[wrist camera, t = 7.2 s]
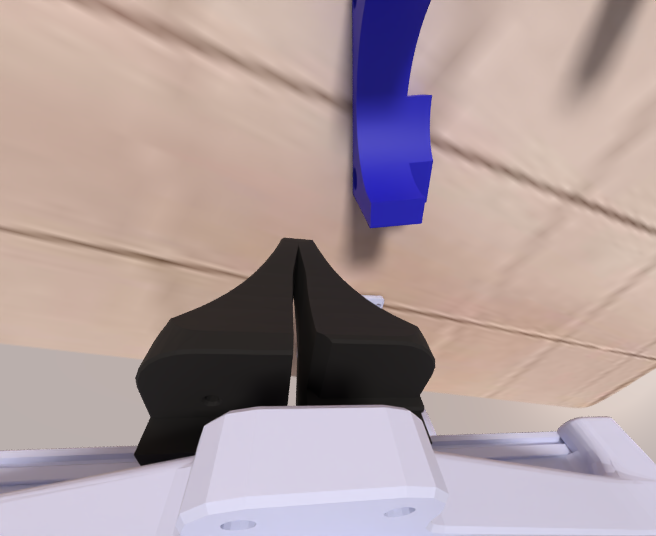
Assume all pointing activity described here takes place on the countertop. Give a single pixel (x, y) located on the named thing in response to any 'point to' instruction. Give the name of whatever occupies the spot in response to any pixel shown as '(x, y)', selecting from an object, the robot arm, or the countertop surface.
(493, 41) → the countertop surface
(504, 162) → the countertop surface
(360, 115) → the cable clip
